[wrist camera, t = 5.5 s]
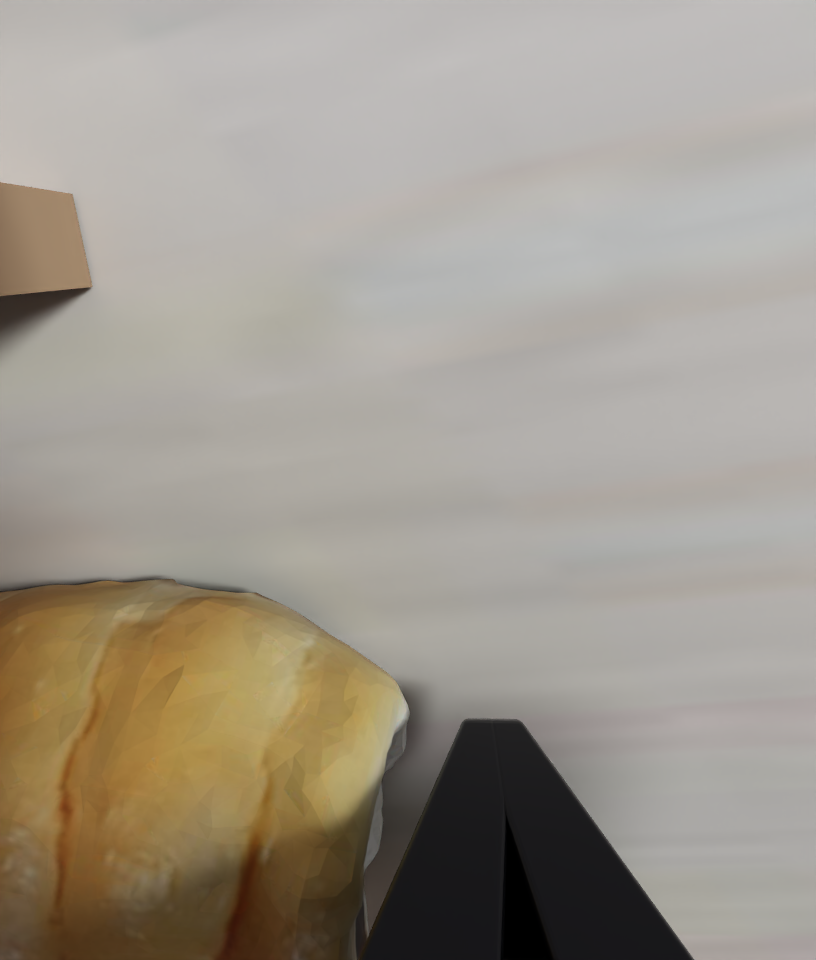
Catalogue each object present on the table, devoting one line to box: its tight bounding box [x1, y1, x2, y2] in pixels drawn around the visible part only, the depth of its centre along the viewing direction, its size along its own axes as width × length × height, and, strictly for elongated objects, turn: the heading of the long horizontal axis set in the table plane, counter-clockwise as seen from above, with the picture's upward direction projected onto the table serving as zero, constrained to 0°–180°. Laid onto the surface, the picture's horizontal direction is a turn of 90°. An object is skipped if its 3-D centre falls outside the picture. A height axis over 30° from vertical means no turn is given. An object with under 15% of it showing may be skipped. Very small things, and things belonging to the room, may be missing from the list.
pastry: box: [0, 579, 410, 960], centre depth 8 cm, size 9×7×4 cm
